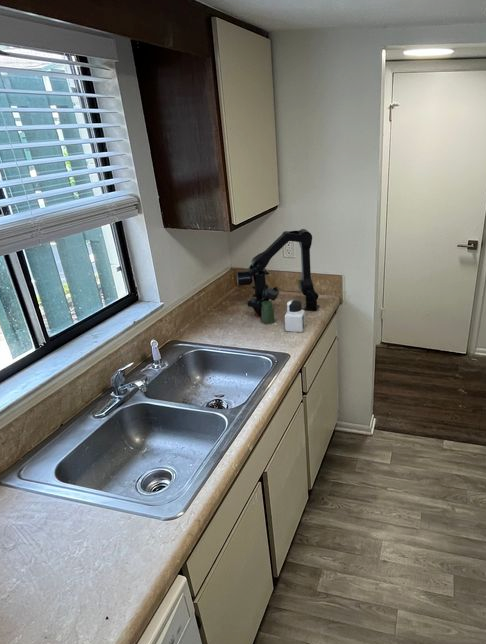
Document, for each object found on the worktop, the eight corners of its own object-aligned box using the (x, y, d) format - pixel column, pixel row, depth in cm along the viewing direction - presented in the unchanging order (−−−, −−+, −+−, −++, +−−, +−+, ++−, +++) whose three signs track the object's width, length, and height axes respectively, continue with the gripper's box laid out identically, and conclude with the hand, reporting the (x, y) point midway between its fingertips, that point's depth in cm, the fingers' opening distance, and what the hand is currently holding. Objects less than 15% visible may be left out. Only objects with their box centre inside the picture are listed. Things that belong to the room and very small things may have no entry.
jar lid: (266, 317, 209) (265, 311, 208) (253, 316, 210) (252, 310, 209) (271, 312, 215) (270, 306, 213) (259, 311, 216) (258, 305, 215)
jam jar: (265, 318, 208) (263, 299, 204) (276, 319, 207) (275, 301, 203) (260, 323, 203) (258, 304, 199) (271, 324, 202) (270, 305, 198)
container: (305, 325, 201) (304, 298, 196) (302, 332, 194) (301, 305, 189) (288, 324, 202) (287, 298, 197) (285, 331, 195) (283, 304, 190)
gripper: (268, 291, 196) (270, 323, 202) (283, 278, 213) (284, 308, 219) (245, 289, 199) (248, 320, 205) (261, 276, 215) (264, 306, 221)
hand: (262, 313), depth 212 cm, fingers closed on jar lid, 6 cm apart
